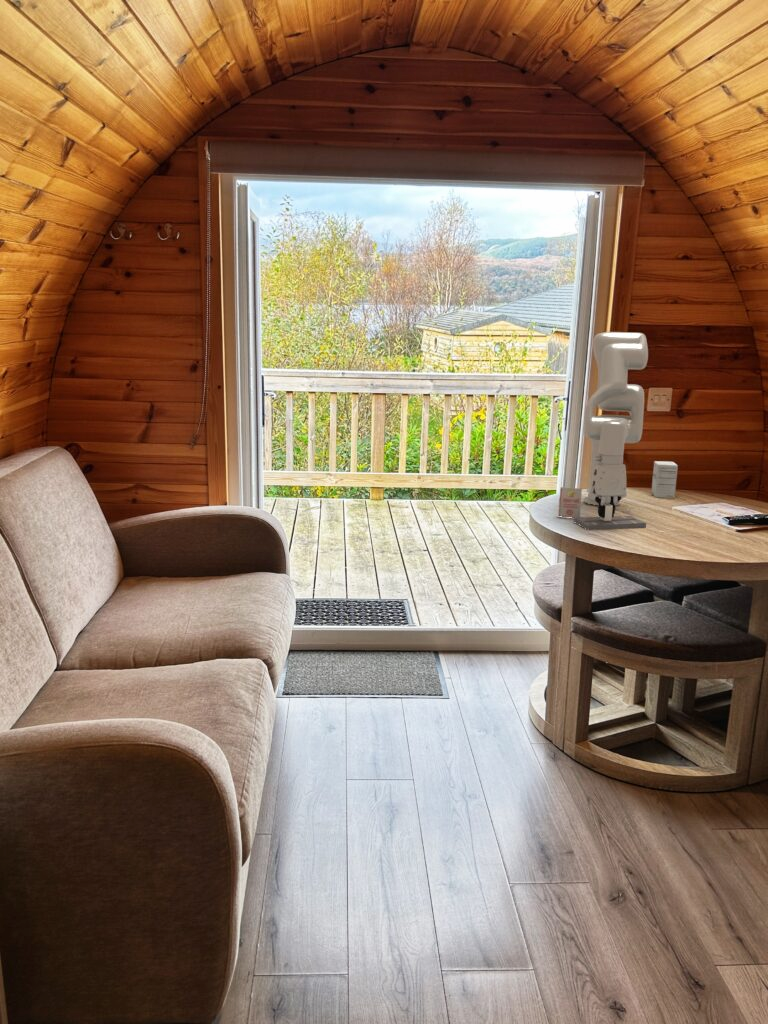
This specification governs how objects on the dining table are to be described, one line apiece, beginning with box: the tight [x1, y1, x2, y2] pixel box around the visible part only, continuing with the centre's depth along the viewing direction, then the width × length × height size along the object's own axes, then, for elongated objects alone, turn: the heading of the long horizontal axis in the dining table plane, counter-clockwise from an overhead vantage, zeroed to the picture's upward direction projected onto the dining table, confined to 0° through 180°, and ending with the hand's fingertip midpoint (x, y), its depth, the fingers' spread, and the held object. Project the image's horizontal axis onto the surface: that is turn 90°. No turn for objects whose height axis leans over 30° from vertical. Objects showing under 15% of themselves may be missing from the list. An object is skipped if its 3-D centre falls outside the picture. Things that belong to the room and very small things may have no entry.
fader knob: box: [599, 503, 613, 521], centre depth 256 cm, size 3×2×5 cm
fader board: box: [573, 515, 647, 530], centre depth 258 cm, size 10×20×2 cm, turn 102°
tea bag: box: [557, 486, 583, 518], centre depth 266 cm, size 4×7×10 cm, turn 73°
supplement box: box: [650, 460, 679, 499], centre depth 301 cm, size 7×7×13 cm
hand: (606, 516), depth 257 cm, fingers closed on fader knob, 2 cm apart
